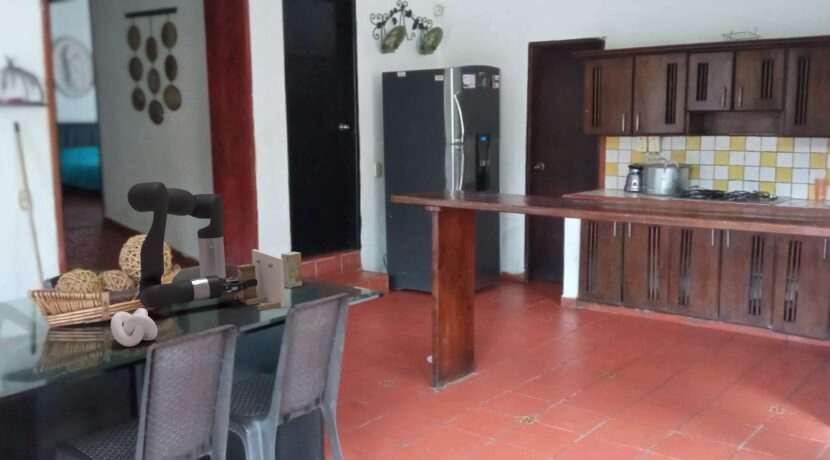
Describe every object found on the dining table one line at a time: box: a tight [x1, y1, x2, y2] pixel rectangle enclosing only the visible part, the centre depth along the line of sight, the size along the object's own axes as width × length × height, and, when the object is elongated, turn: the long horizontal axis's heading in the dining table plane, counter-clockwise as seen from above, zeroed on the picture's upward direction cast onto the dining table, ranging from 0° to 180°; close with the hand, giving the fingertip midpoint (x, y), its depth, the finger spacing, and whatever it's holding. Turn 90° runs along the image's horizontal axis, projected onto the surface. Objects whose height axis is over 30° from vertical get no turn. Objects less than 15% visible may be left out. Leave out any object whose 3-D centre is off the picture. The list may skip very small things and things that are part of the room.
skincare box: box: [280, 251, 303, 289], centre depth 279 cm, size 6×4×12 cm
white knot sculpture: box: [110, 307, 159, 348], centre depth 215 cm, size 11×12×9 cm
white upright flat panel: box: [234, 248, 286, 312], centre depth 255 cm, size 22×9×16 cm, turn 35°
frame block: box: [236, 263, 258, 304], centre depth 258 cm, size 4×5×12 cm
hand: (253, 280), depth 260 cm, fingers closed on frame block, 4 cm apart
